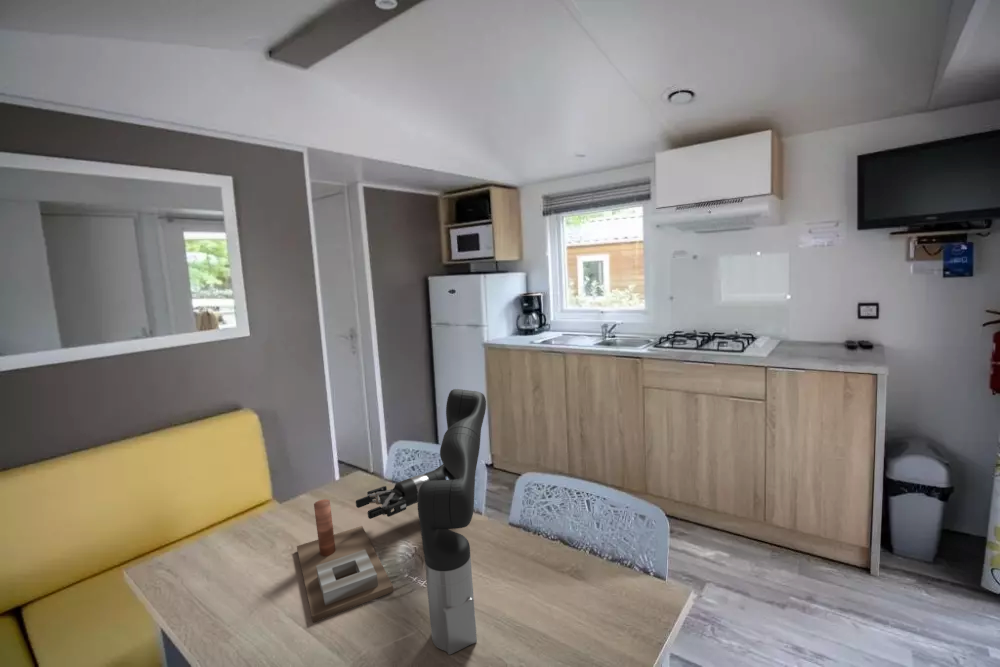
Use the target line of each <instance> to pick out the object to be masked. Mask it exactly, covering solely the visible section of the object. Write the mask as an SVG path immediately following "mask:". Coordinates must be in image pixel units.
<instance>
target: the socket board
mask: <svg viewBox="0 0 1000 667" xmlns="http://www.w3.org/2000/svg"><path fill="white" fill-rule="evenodd" d="M334 540H335V549H336V550H335V552H334V553H333V554H331V555H329V556H321V555H320V550H319V542H318V539H315V540H312V541H309V542H305V543H302V544H299V545H296V550H297V555H298V560H299V564H300V568H301V573H302V578H303V583H304V586H305V587H304V588H305V591H306V596H307V601H308V605H309V610H310V615H311V619H312V623H316V622H318V621H322V620H324V619H326V618H330V617H331V616H334V615H336V614H339V613H341V612H344V611H348V610H350V609H352V608H354V607H355V608H356V607H358V606H360V605H362V604H366V603H367V602H368V603H369V602H370V601H373V600H376V599H378V598H380V597H381V598H382V597H383V596H385V595H388V593H389V594H391V593H393V591H394V585H393V583H392V581H391V579H390V577H389V575H388V574H387V571H386V569H385V568H384V565H383V564H382V562H381V560H380V557H379V556H378V553H377V552H376V549H375V548H374V546H373V544H372V542H371V541H370V538H369V537H368V534H367V533H366V530H365V528H364V527H363V525H361V526H357V527H354V528H351V529H347V530H345V531H341V532H338V533H335V534H334ZM390 592H391V593H390Z"/></svg>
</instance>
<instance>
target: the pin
mask: <svg viewBox="0 0 1000 667" xmlns="http://www.w3.org/2000/svg"><path fill="white" fill-rule="evenodd" d="M313 507H314V508H313V509H314V515H315V516H314V517H315V523H316V524H315V526H316V534H317V540H318V542H319V550H320V555H321V556H329V555H331V554H333V553H334V552H335V550H336V549H335V540H334V532H335V531H334V524H333V516H332V508H331V501H330V499H326V498H325V499H320V500H318V501H315V502H314V503H313Z"/></svg>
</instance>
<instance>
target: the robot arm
mask: <svg viewBox="0 0 1000 667" xmlns="http://www.w3.org/2000/svg"><path fill="white" fill-rule="evenodd" d="M445 407H446V408H445V417H446V418H445V419H446V425H447V426H446V428H447V429H446V431H445V432H444V435H443V438H442V441H441V444H440V448H439V449H440V450H439V457H440V460H441V463H442V464H441V465H440V466H439V467H437V468H434V470H432V471H431V470H430V471H428V472H426V473H424V474H419V475H415V476H413V477H409V478H407V479H406V478H405V479H403V480H401V481H399V482H396V483H395V484H394V487H393V488H392V489H387V485H383V486H381V487H378V488H374V489H371V490H369V491H367V492H366V493H367V495H366V496H364V497H361V498H358V499H356V500H355V506H356V508H358V509H359V508H362V507H364V506H367V505H369V504H375V505H381V506H377V507H374V508H372V509H370V510H368V511H367V518H368V519H369V520H370V519H375V518H376V517H378V516H385V515H386V516H387V517H391V516H394V515H397V514H398V513H401V512H403V511H406V510H407V507H410V506H412V505H414V504H417V514H418V521H419V527H420V534H421V542H422V550H423V555H424V565H425V566H424V567H425V577H426V578H425V579H426V589H427V600H428V612H429V622H430V633H431V641H432V643H433V644H434V646H435V647H436V648H438V649H440V650H441V651H445V652H446V653H447V654H448V655H452V654H455V653H456V652H458V651H460V650H463V649H465V648H466V647H468V646H469V647H470V646H471V645H474V644H476V643H477V640H478V639H477V624H476V611H475V596H474V586H473V572H472V571H473V570H472V558H471V547H470V546H471V545H470V543H469V540H468V539H467V537H466V536H464V535H463V534H461V533H458V532H456V531H454V530H456V529H458V530H459V529H463V528H465V527H466V528H467V527H468V526H469V525H470V523H471V521H472V518H473V514H474V509H475V490H476V489H475V488H476V486H475V484H476V472H477V466H478V461H479V455H480V447H481V436H482V434H481V433H482V427H483V422H484V419H485V415H486V409H487V400H486V397H485V394H484V393H483V392H480V391H476V390H469V389H459V388H457V389H456V388H453V389H451V390H450V392H449V393H448V396H447V400H446V405H445ZM447 478H448V479H447ZM452 529H454V530H452Z"/></svg>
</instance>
